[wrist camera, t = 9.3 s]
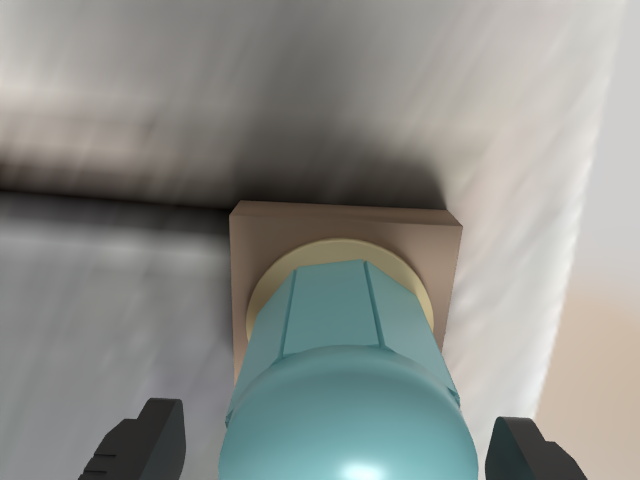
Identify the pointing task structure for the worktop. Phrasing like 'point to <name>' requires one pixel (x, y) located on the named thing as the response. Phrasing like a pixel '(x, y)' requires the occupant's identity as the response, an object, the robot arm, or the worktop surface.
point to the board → (339, 253)
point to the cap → (345, 386)
